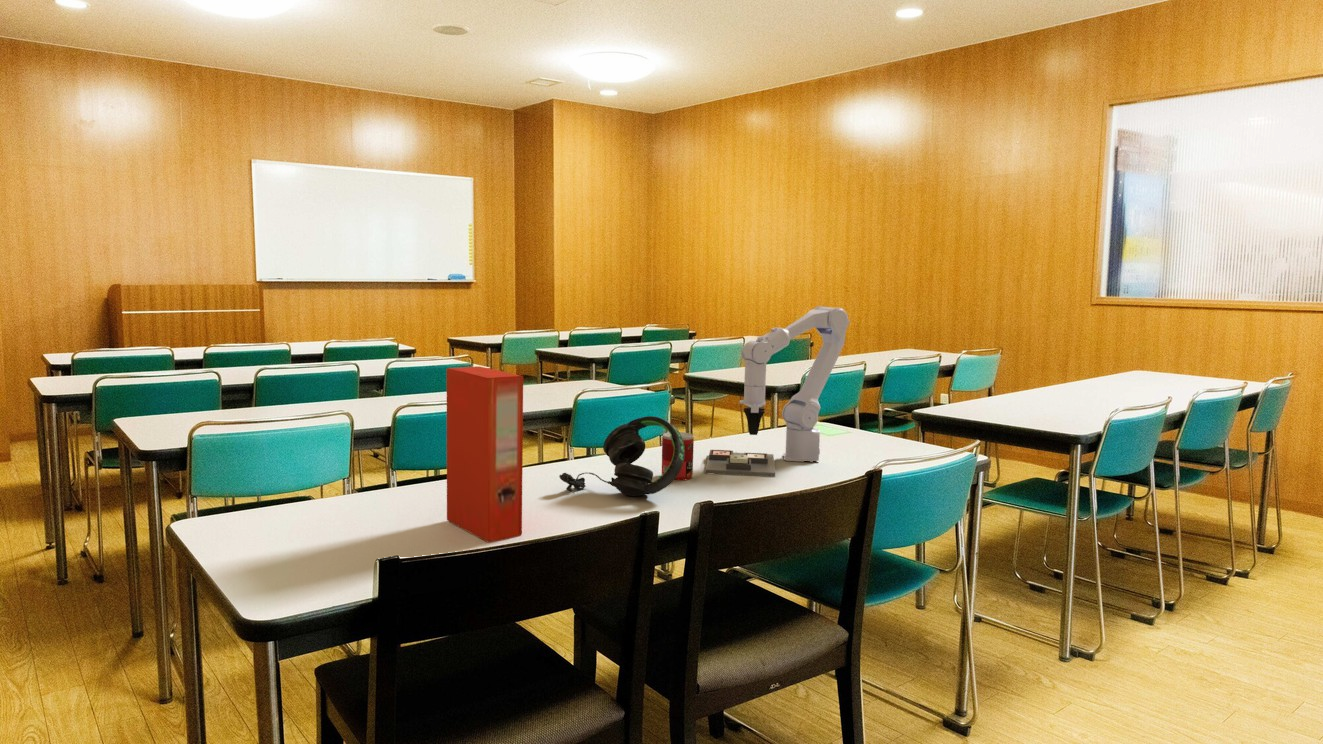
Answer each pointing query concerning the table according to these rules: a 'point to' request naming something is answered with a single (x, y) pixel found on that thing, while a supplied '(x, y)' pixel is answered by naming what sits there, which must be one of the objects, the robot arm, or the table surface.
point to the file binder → (485, 452)
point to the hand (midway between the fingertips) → (753, 434)
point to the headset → (628, 448)
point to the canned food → (668, 453)
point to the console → (741, 465)
